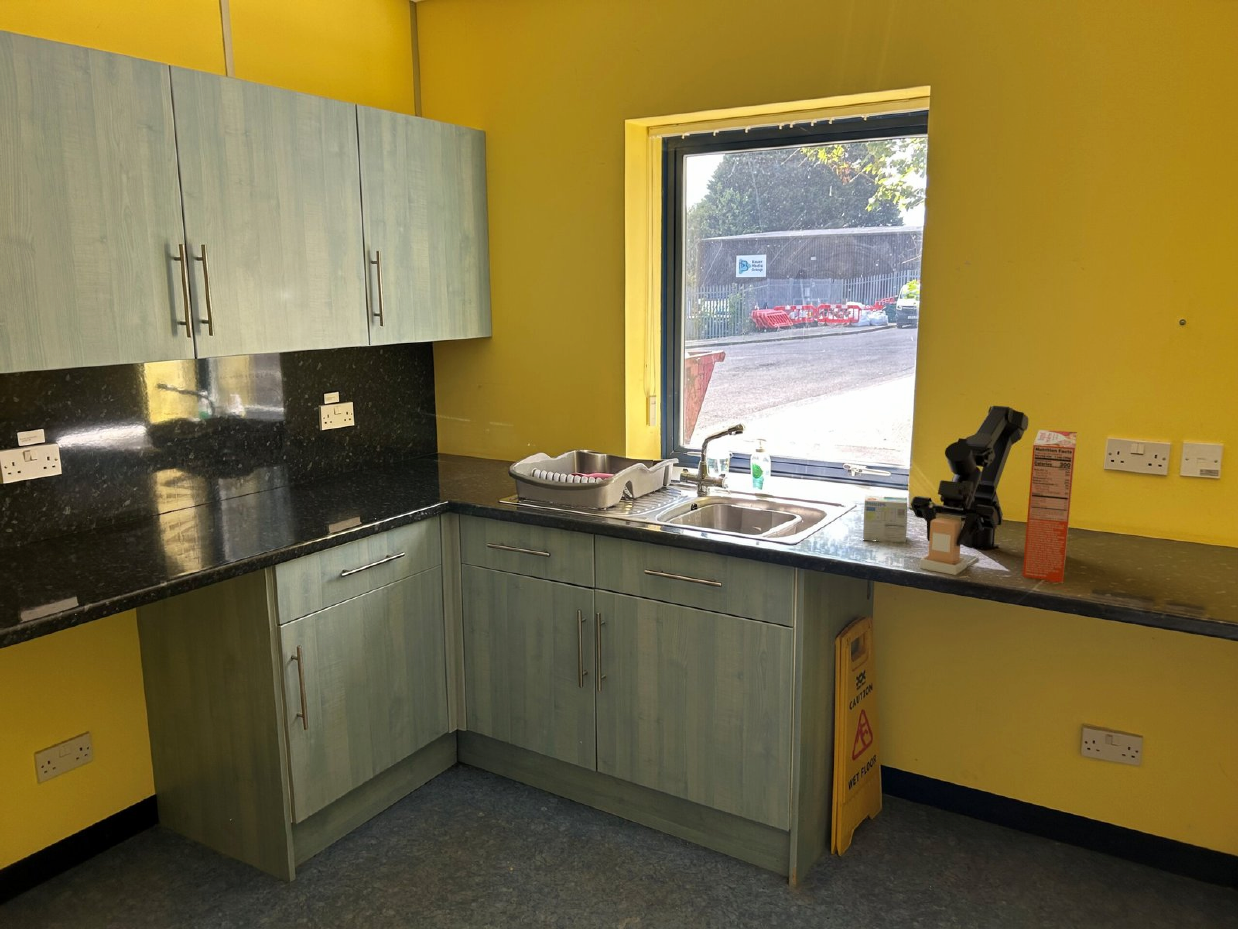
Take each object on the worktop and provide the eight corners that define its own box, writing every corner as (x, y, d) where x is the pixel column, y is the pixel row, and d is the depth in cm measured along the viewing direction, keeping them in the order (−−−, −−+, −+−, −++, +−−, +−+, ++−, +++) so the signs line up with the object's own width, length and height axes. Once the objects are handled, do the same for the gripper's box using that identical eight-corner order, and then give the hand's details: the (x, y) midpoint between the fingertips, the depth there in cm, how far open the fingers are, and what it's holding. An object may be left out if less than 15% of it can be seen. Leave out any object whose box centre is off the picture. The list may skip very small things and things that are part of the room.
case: (931, 562, 217) (932, 552, 217) (966, 569, 212) (967, 558, 212) (919, 569, 212) (920, 559, 211) (955, 576, 207) (956, 565, 206)
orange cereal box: (1029, 551, 226) (1039, 429, 220) (1065, 555, 222) (1076, 432, 216) (1022, 578, 206) (1033, 444, 200) (1062, 583, 202) (1074, 447, 196)
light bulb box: (905, 537, 239) (908, 496, 237) (906, 544, 233) (908, 502, 230) (862, 534, 242) (864, 494, 240) (862, 541, 235) (864, 500, 233)
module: (935, 563, 215) (938, 517, 213) (958, 567, 212) (962, 520, 210) (927, 567, 212) (930, 521, 210) (951, 572, 208) (954, 525, 206)
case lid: (944, 554, 223) (944, 549, 223) (978, 560, 218) (978, 556, 218) (931, 562, 217) (932, 557, 217) (966, 568, 212) (966, 563, 212)
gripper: (916, 461, 216) (894, 516, 210) (998, 471, 205) (977, 530, 198) (926, 489, 224) (906, 543, 217) (1006, 499, 212) (987, 557, 206)
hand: (942, 542), depth 210 cm, fingers open, 6 cm apart
